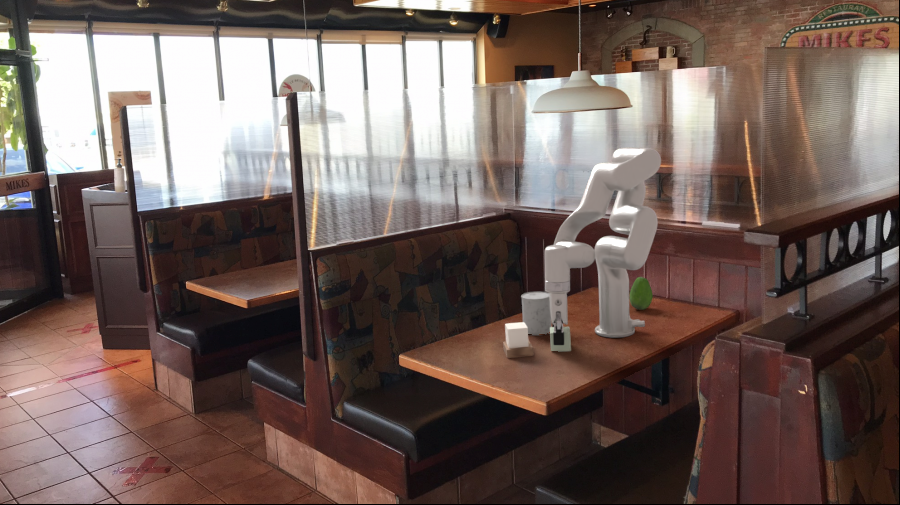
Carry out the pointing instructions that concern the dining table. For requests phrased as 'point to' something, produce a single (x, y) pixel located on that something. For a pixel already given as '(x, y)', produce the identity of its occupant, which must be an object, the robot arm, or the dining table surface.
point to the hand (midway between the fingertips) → (558, 340)
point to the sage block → (566, 340)
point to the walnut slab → (518, 351)
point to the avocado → (641, 294)
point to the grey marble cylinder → (536, 312)
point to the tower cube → (516, 335)
